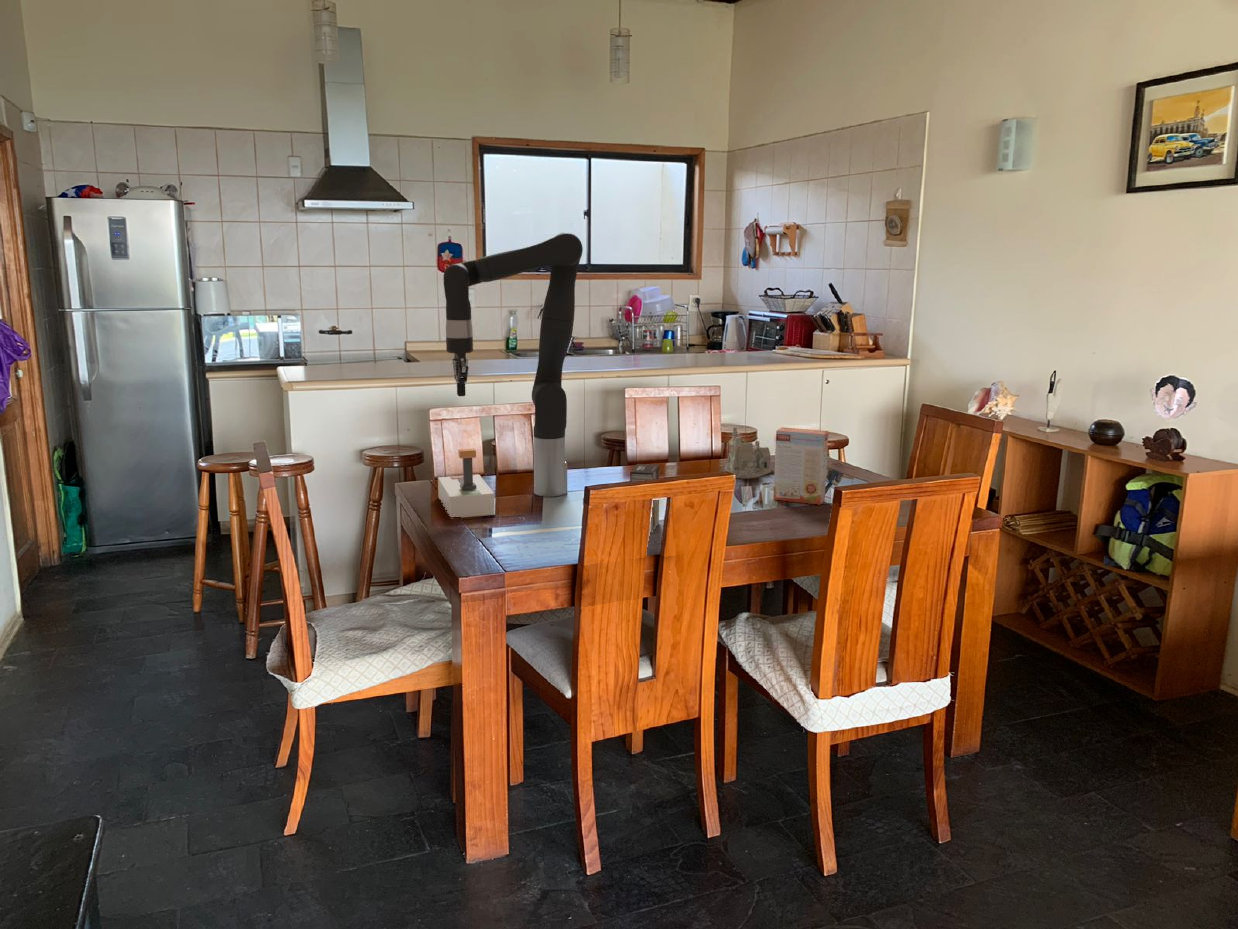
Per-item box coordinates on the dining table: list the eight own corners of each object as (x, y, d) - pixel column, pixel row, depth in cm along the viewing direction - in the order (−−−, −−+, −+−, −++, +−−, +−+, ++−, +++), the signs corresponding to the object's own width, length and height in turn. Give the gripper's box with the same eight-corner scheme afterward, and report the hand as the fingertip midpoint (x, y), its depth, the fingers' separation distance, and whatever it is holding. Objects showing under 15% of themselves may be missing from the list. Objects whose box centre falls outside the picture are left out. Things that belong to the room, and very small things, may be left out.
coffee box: (635, 521, 248) (636, 463, 244) (659, 523, 246) (660, 464, 243) (629, 531, 239) (629, 471, 235) (653, 533, 238) (654, 472, 234)
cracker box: (825, 500, 269) (829, 430, 264) (820, 506, 264) (824, 434, 259) (778, 495, 275) (781, 425, 270) (772, 500, 269) (775, 429, 264)
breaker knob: (475, 486, 257) (474, 448, 254) (477, 488, 254) (476, 450, 252) (459, 487, 255) (458, 449, 253) (461, 490, 253) (459, 451, 250)
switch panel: (479, 494, 273) (479, 473, 271) (494, 514, 253) (494, 492, 251) (438, 497, 269) (437, 476, 268) (450, 518, 249) (449, 496, 247)
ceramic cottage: (728, 478, 294) (732, 431, 291) (721, 467, 310) (725, 423, 307) (776, 481, 294) (781, 434, 291) (767, 470, 310) (772, 426, 307)
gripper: (476, 337, 259) (478, 398, 263) (468, 333, 271) (470, 391, 275) (449, 338, 256) (451, 400, 260) (442, 333, 268) (444, 392, 272)
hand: (461, 395), depth 268 cm, fingers closed
